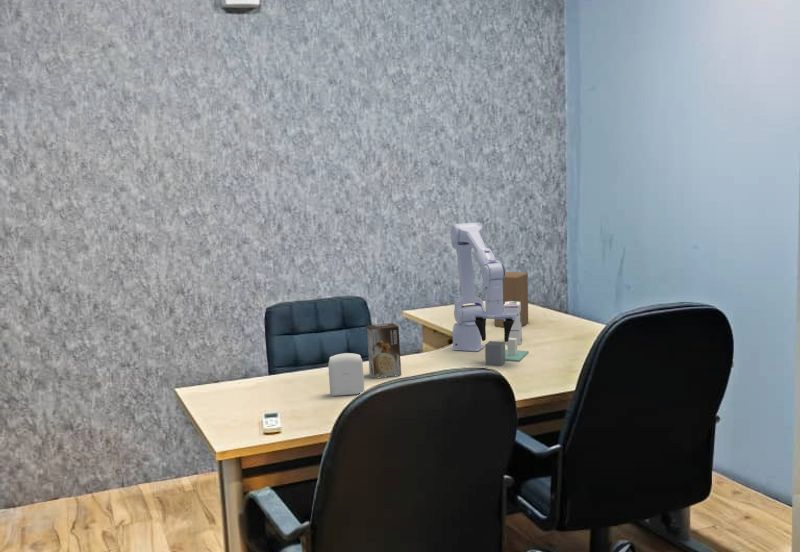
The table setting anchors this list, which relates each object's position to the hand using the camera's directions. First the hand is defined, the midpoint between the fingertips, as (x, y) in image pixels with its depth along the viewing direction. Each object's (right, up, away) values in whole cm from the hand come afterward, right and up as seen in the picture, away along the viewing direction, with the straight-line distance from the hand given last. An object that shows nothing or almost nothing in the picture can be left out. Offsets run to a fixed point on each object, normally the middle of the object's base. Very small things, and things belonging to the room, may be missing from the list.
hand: (495, 340), depth 307 cm
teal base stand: (+7, -6, +9) cm, 13 cm away
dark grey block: (0, -8, +1) cm, 8 cm away
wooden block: (+12, +2, +56) cm, 58 cm away
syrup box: (+9, -3, +29) cm, 30 cm away
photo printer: (-47, -14, -26) cm, 56 cm away
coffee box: (-36, -11, -7) cm, 38 cm away
